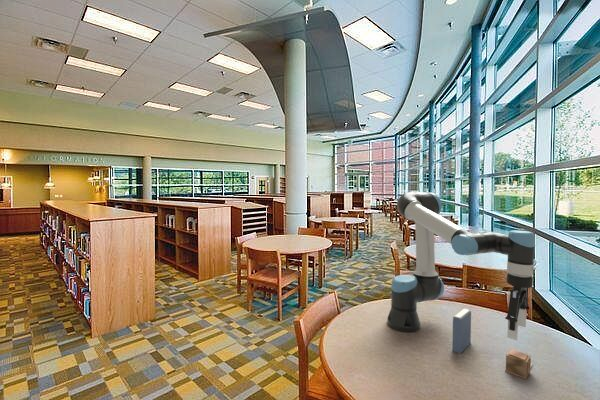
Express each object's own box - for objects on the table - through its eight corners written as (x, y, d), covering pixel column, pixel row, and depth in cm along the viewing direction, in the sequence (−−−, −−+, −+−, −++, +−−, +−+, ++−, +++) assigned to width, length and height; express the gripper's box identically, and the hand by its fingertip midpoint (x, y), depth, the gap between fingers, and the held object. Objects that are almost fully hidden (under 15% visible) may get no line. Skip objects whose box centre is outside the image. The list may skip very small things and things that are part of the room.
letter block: (505, 370, 106) (506, 353, 105) (509, 363, 110) (510, 347, 109) (527, 378, 101) (527, 361, 101) (530, 371, 105) (531, 354, 105)
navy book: (452, 350, 119) (453, 316, 119) (462, 340, 127) (463, 307, 127) (460, 353, 117) (461, 318, 116) (470, 343, 125) (471, 310, 124)
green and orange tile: (504, 370, 106) (504, 369, 106) (509, 364, 110) (509, 363, 110) (525, 378, 101) (525, 377, 101) (529, 371, 105) (529, 370, 105)
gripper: (525, 284, 93) (522, 349, 94) (539, 269, 110) (536, 324, 111) (497, 279, 99) (494, 340, 100) (515, 265, 116) (512, 317, 117)
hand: (516, 332), depth 106 cm, fingers open, 13 cm apart
